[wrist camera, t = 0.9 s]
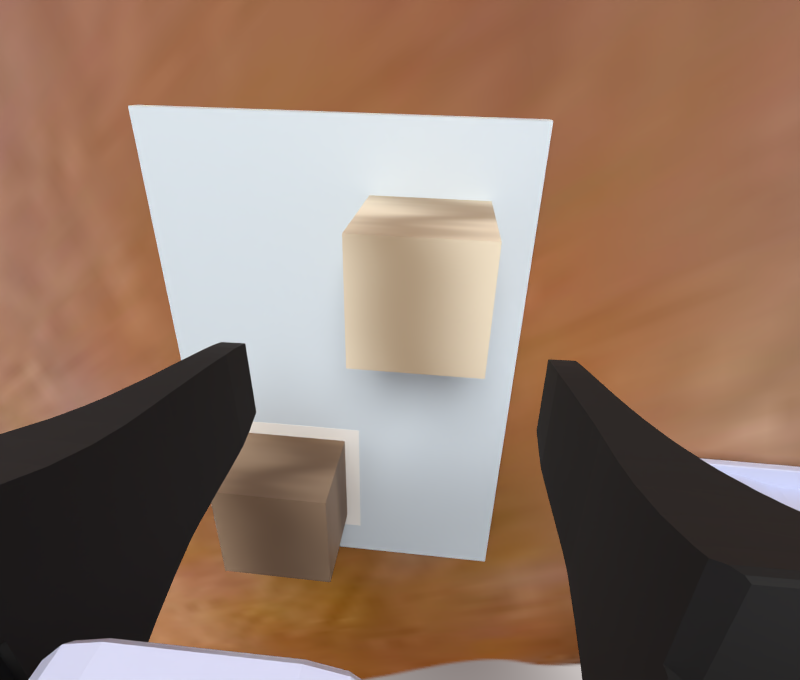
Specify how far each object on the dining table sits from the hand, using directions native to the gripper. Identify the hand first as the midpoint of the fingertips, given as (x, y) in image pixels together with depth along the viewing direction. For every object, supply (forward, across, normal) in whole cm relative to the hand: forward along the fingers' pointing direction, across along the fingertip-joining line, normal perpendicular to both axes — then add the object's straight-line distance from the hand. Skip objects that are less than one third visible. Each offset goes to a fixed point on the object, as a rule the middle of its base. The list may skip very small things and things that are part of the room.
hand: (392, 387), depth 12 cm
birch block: (+9, 0, 0) cm, 9 cm away
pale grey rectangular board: (+9, +3, +6) cm, 11 cm away
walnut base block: (+9, +6, +12) cm, 16 cm away
